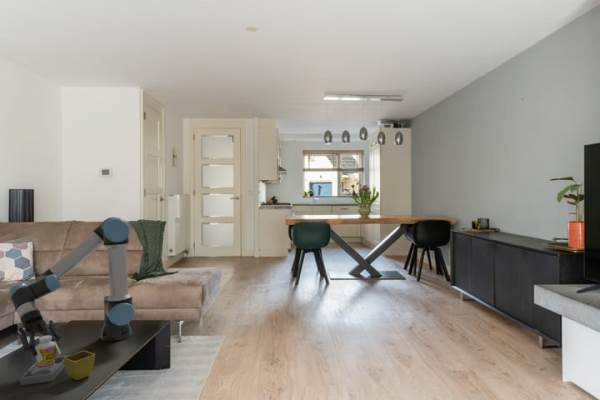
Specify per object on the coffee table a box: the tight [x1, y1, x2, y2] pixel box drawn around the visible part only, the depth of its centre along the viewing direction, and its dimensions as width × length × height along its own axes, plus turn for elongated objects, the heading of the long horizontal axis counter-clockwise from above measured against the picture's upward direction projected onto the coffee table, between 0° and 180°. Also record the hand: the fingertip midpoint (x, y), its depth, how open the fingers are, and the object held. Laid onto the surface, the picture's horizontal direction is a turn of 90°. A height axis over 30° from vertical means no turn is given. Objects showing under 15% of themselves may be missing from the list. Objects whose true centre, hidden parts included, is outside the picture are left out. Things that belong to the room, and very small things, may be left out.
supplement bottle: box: [35, 335, 56, 370], centre depth 169 cm, size 7×7×13 cm
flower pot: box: [64, 350, 96, 381], centre depth 164 cm, size 9×9×9 cm
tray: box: [19, 355, 68, 386], centre depth 169 cm, size 12×20×3 cm, turn 15°
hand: (50, 358), depth 167 cm, fingers closed on supplement bottle, 7 cm apart
